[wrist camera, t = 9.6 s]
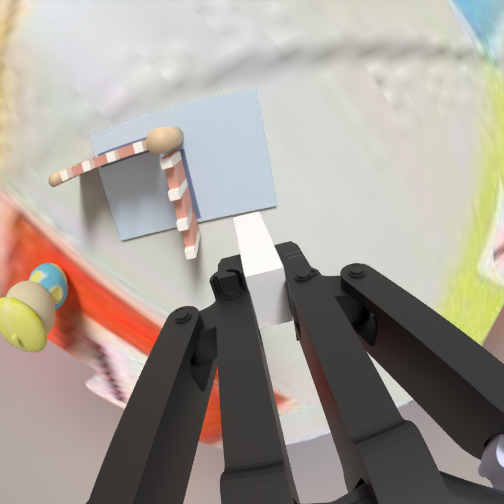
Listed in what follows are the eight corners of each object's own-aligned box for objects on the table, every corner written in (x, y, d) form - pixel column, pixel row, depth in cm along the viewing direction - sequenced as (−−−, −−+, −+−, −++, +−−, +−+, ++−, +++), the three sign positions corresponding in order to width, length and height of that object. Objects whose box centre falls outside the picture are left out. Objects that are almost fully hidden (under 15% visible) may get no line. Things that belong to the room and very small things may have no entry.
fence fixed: (181, 124, 28) (168, 124, 21) (186, 144, 29) (174, 150, 22) (76, 160, 28) (44, 172, 21) (81, 178, 29) (50, 194, 22)
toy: (31, 249, 32) (-26, 306, 18) (76, 250, 33) (20, 316, 19) (44, 293, 35) (0, 355, 22) (88, 297, 36) (47, 369, 23)
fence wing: (171, 152, 28) (159, 158, 23) (179, 149, 28) (169, 155, 23) (192, 236, 33) (186, 259, 28) (200, 234, 33) (196, 257, 28)
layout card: (122, 239, 33) (121, 241, 33) (90, 135, 27) (89, 135, 26) (276, 205, 33) (277, 205, 33) (256, 89, 27) (256, 88, 26)
